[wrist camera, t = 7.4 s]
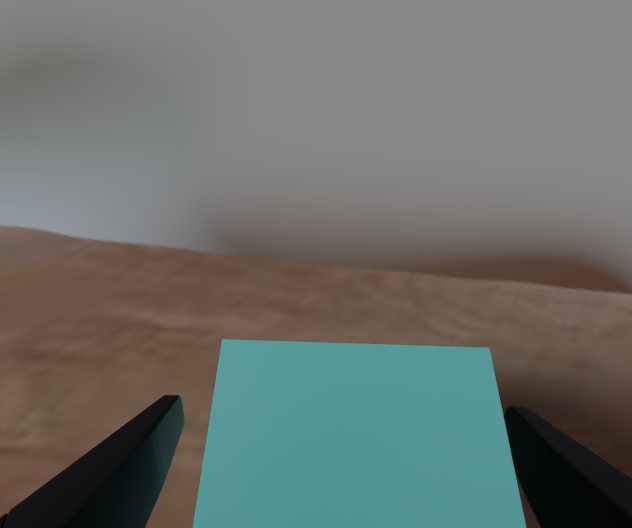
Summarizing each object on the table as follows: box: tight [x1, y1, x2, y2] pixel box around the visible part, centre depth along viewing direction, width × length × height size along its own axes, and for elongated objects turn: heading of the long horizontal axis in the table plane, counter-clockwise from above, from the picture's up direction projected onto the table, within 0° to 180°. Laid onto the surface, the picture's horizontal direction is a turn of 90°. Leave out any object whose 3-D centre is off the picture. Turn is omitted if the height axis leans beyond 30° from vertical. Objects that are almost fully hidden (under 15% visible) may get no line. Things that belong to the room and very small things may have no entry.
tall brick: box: [193, 339, 526, 528], centre depth 10 cm, size 6×6×10 cm
